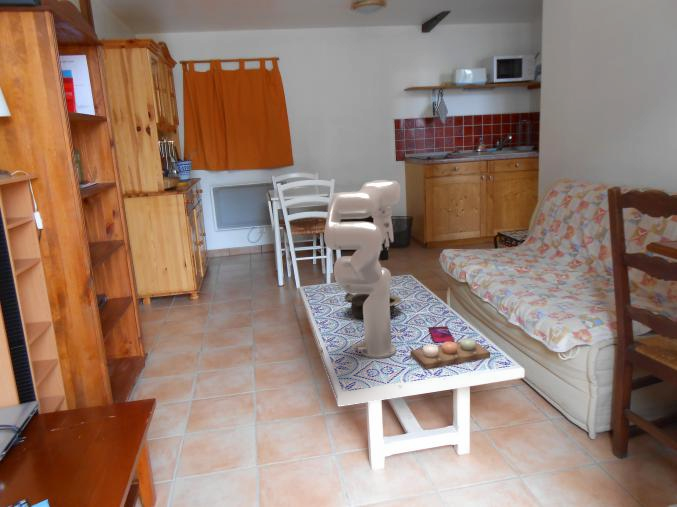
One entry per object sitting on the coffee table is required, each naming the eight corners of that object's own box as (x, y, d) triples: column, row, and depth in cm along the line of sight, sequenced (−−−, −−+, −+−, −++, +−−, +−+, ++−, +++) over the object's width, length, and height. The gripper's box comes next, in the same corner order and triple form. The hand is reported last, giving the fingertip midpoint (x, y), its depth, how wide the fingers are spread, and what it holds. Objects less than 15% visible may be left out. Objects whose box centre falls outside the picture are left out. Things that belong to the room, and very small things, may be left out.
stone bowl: (338, 321, 215) (337, 300, 214) (355, 306, 239) (354, 287, 237) (395, 323, 207) (394, 301, 206) (407, 308, 230) (406, 288, 229)
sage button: (465, 351, 173) (464, 344, 172) (457, 346, 177) (457, 339, 177) (478, 348, 174) (478, 342, 173) (470, 343, 179) (470, 337, 178)
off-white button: (427, 358, 169) (427, 351, 169) (421, 352, 174) (420, 346, 173) (440, 355, 170) (440, 349, 170) (434, 350, 175) (434, 343, 175)
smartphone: (433, 342, 187) (427, 327, 201) (433, 344, 187) (427, 329, 201) (454, 341, 186) (447, 326, 201) (454, 343, 186) (447, 328, 201)
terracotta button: (446, 354, 171) (446, 348, 170) (439, 349, 176) (439, 342, 175) (459, 352, 172) (459, 345, 172) (452, 346, 177) (452, 340, 176)
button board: (424, 369, 166) (424, 363, 165) (410, 355, 177) (410, 350, 177) (490, 357, 172) (490, 351, 171) (472, 344, 183) (472, 339, 182)
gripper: (398, 214, 186) (400, 262, 190) (384, 209, 200) (386, 254, 204) (378, 216, 184) (381, 265, 188) (366, 211, 198) (368, 257, 202)
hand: (383, 259), depth 196 cm, fingers closed
